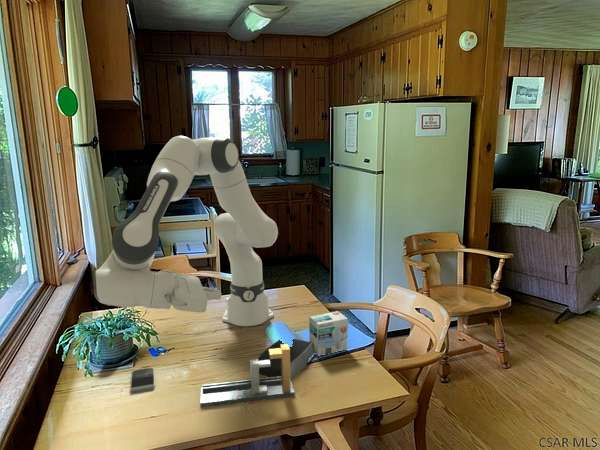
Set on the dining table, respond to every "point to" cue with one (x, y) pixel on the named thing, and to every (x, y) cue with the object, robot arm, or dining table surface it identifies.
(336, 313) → the light bulb box
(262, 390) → the retention clip
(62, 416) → the dining table surface
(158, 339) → the dining table surface
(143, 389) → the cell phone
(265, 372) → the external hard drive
